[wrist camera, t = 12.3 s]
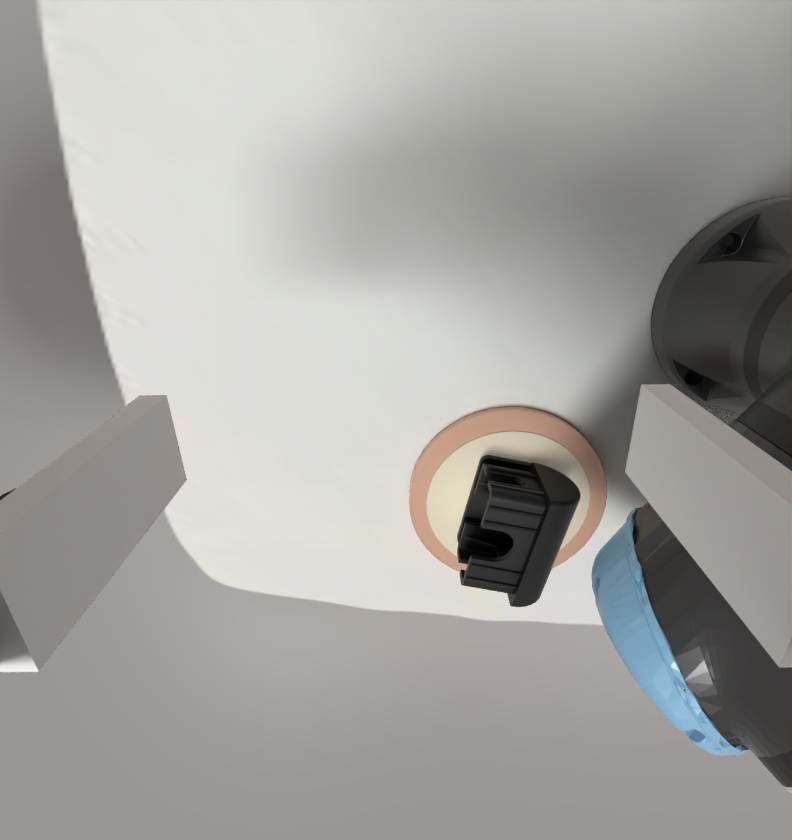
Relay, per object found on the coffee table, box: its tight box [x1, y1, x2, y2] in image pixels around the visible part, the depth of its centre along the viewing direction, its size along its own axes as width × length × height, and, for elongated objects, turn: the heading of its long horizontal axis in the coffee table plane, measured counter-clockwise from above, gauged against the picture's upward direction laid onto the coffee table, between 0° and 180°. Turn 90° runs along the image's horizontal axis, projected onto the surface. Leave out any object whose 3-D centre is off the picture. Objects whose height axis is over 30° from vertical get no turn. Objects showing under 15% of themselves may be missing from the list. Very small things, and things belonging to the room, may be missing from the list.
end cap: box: [457, 455, 581, 607], centre depth 40 cm, size 10×7×7 cm
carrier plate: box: [409, 407, 607, 572], centre depth 44 cm, size 17×17×2 cm
